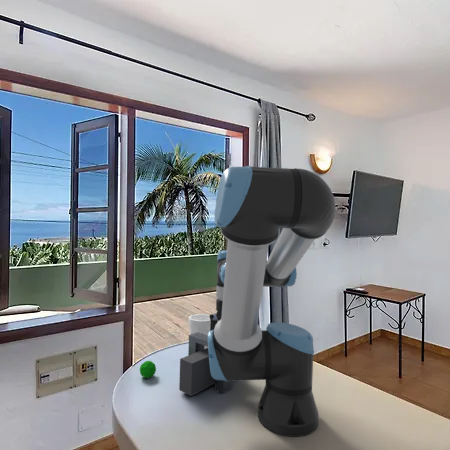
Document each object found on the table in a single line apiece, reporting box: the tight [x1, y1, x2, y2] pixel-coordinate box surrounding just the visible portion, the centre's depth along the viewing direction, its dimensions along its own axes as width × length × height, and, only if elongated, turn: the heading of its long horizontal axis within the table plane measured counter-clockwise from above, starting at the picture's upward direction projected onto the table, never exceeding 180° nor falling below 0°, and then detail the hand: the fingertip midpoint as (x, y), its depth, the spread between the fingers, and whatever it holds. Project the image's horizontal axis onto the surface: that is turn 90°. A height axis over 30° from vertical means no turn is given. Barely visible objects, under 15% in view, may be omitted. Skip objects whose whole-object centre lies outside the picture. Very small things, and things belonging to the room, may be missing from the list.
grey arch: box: [187, 332, 233, 395], centre depth 104 cm, size 14×4×14 cm, turn 50°
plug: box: [178, 348, 216, 397], centre depth 105 cm, size 6×22×9 cm, turn 140°
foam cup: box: [188, 313, 211, 349], centre depth 129 cm, size 10×9×13 cm
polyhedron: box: [139, 360, 157, 379], centre depth 107 cm, size 5×5×5 cm
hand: (226, 370), depth 110 cm, fingers closed on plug, 5 cm apart
